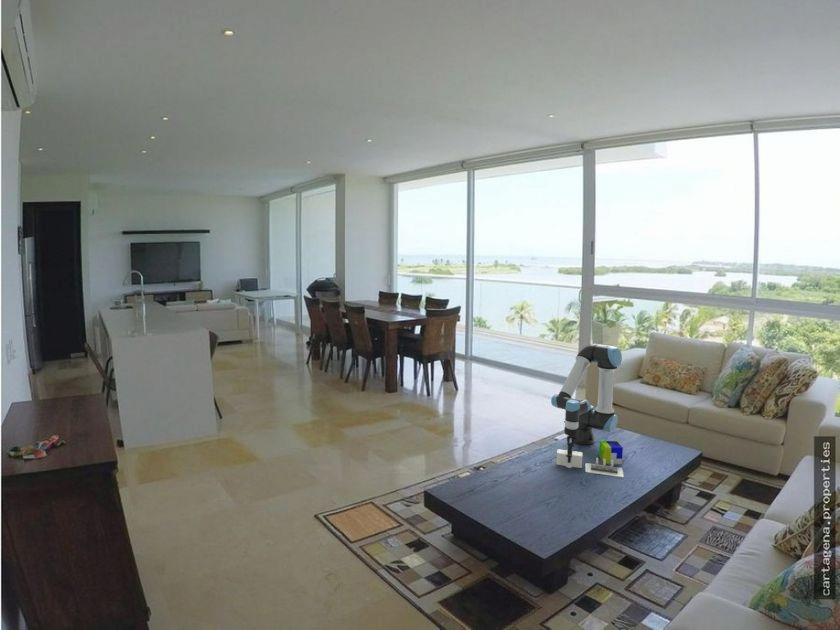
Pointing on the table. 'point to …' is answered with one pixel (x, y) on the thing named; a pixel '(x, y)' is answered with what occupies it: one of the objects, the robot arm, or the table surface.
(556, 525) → the table surface
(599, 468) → the plate
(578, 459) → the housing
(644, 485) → the table surface
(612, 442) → the puzzle toy
